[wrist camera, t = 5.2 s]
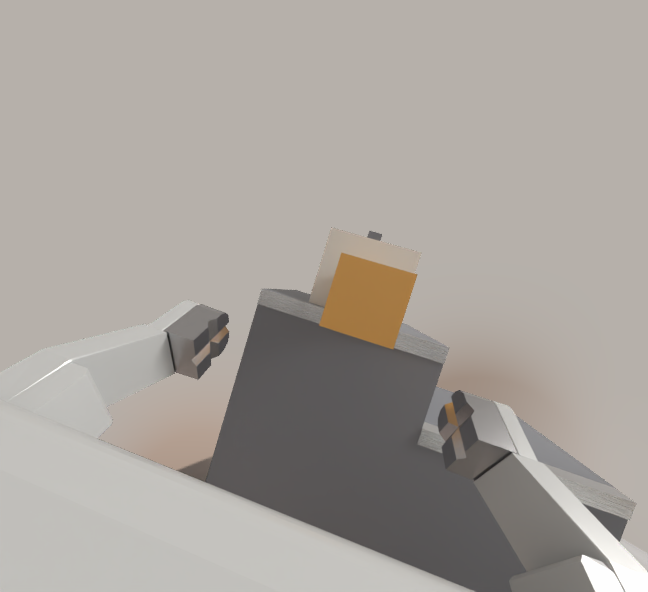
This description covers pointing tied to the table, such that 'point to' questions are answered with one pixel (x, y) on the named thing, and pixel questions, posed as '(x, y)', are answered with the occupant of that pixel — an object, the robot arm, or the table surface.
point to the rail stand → (371, 447)
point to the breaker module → (364, 286)
